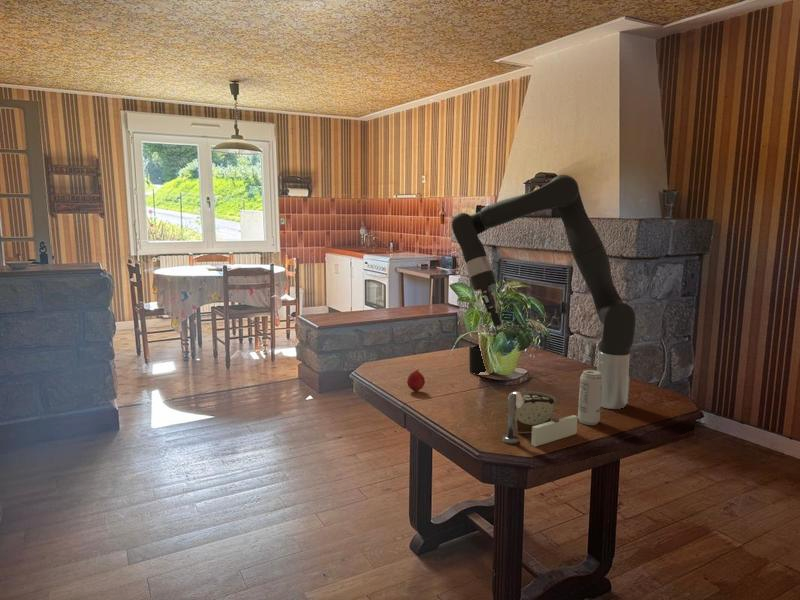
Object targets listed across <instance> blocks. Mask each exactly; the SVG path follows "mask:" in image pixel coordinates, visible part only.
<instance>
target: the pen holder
mask: <svg viewBox="0 0 800 600" xmlns="http://www.w3.org/2000/svg"><path fill="white" fill-rule="evenodd" d="M468 351H469V358H468V359H469V363H468V364H469V372H470V373H471V372H472V373H475V374H479V373H480V372H485V371H486V369H485V366H484V363H483V359H482V356H481V351H480V348H479V344H477V345H474V346H469V349H468ZM472 373H471V374H472Z"/></svg>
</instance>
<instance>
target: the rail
mask: <svg viewBox="0 0 800 600" xmlns="http://www.w3.org/2000/svg"><path fill="white" fill-rule="evenodd" d="M577 429H578V415H575V414H572V415H571V414H570V415H569V416H568V415H567V416H564V417H561V418H558V417H556V416H554V417H552V421H550V422H546V423H543V424H539V425H536V426H532V433H531V438H530V439H531V442H530V445H531V446H533V447H534V448H536V447H539V446H541V445H545V444H548V443H551V442H554V441H558V440H561V439H565V438H568V437H570V436H574V435H577V432H578V430H577Z"/></svg>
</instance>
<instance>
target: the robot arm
mask: <svg viewBox="0 0 800 600" xmlns="http://www.w3.org/2000/svg"><path fill="white" fill-rule="evenodd" d="M554 208H555V209H556V211H557V213H558V215H559V216H560V219H561V221H562V223H563V226H564V230H565V234H566V239H567V242H568V245H569V249H570V251H571V253H572V256H573V258H574V261H575V263H576V266H577V268H578V270H579V271H580V274H581V276H582V278H583V281H584V282H585V284H586V285H587V288H588V289H589V291H590V295H591V297H592V300H593V302H594V307H595V310H596V314H597V316H598V320H599V322H600V323H601V324H602V325H603V328H602V330H603V331H602V338H601V340H600V341H599V343H598V353H597V365H596V366H597V367H596V371H599V372H600V373H601V377H602V379H603V380H602V394H601V408H603V409H608V410H609V409H610V410H622V409H621V408H623V409H624V407H625V406H626V407H627V405H628V400H629V389H630V378H631V377H630V375H629V371H630V370H629V369H630V358H631V349H632V346H633V345H634V344H633V343H634V339H635V329H636V313H635V310H634V308H633V307H632V306H631V305H629V304H628V303H626V302H625V301H623V300H622V298H621V297H620V295H619V293H618V290H617V288H616V287H615V284H614V281H613V278H612V272H611V270H612V269H611V264H610V260H609V256H608V252H607V251H606V249H605V246H604V244H603V241H602V239H601V237H600V236H599V233H598V231H597V230H596V227H595V226H594V225H593V223H592V221H591V219H590V218H589V216H588V214H587V212H586V209H585V207H584V203H583V201H582V197H581V193H580V189H579V185H578V182H577V180H576V179H575V178H574V177H573V176H570V175H567V174H560V175H557V176H555V177H554V178H552V179H551V180H550V181H549V182H548V183H545V184H544V185H542V186H540V187H538V188H536V189H534V190H531V191H529V192H526V193H524V194H520V195H517V196H513V197H510V198H506V199H503V200H499V201H497V202H494V203H492V204H488V205H486V206H483V207H482V208H481V209H480V211H478V212H475V213H473V214H468V213H466V212H459V213H457V214H456V215H454V217H453V218H452V221H451V229H452V232H453V235H454V236H455V239H456V241H457V244H458V245H459V247H460V250H461V251H462V256H463V258H464V262H465V266H466V270H467V273H468V277H469V280H470V283H471V287H472V289H473V291H474V292H479V291H480V292H481V294H480V298H481V301H482V302H483V304H484V307H485V309H486V311H487V313H488V315H489V316H490V317H491V321H492V323H493V326H494V327H499V326H501V325H502V321H501V320H502V319H501V318H500V315H499V312H500V309H499V306H498V301H497V298H496V293H495V291H493V290H492V287H494V286H496V285H497V279H496V276H495V274H494V270H493V268H492V265H491V262H490V260H489V258H488V256H487V252H486V250H485V249H486V248H485V247H484V244H483V242H482V241H481V240H480V238H479V235H480V234H481V233H484V232H486V231H487V230H489V229H492V228H495V227H498V226H501V225H504V224H506V223H507V224H508V223H509V222H512V221H515V220H518V219H520V218H522V217H525V216H528V215H530V214H533V213H538V212H540V211H544V210H550V209H554ZM626 404H627V405H626ZM626 407H625V408H626Z"/></svg>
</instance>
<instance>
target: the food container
mask: <svg viewBox="0 0 800 600" xmlns="http://www.w3.org/2000/svg"><path fill="white" fill-rule="evenodd" d="M519 392H520V393H521V394H522V395H523V397H524V406H523V407H522V408H519V409H515V416H514V425H515V432H516V434H532V426H536V425H539V424H543V423H546V422H550V421H552V418H553V416H554V415H553V414H554V410H555V409H554V407H555V405H557V400H556V397H555V396H553V395H551V394H549V393H546V392H541V391H531V390H529V391H519Z"/></svg>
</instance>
